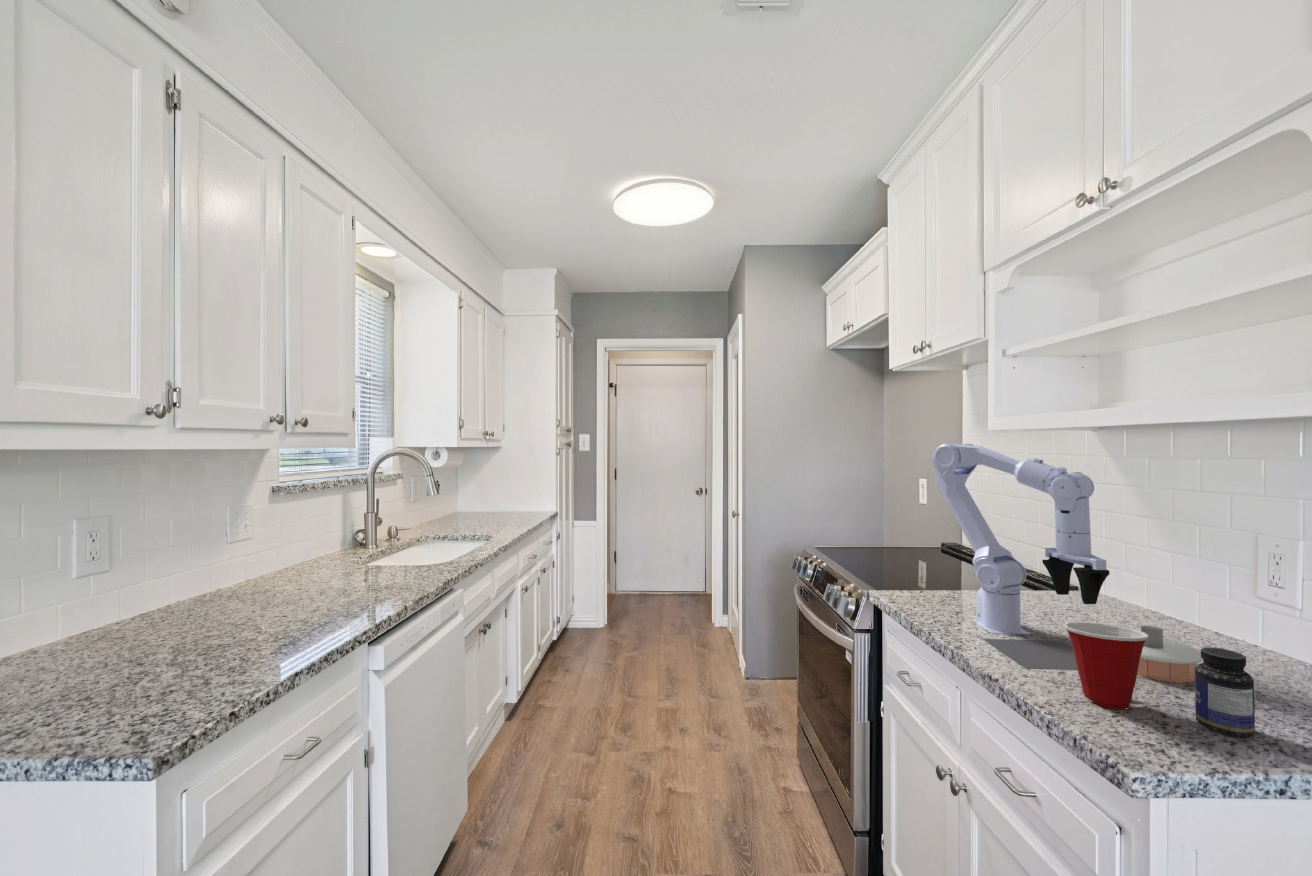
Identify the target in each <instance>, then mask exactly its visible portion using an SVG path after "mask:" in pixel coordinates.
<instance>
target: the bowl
mask: <svg viewBox="0 0 1312 876" xmlns="http://www.w3.org/2000/svg"><path fill="white" fill-rule="evenodd" d="M1197 665H1198V663H1193V664H1176V663H1166V662H1159V661H1153V660H1148V659H1143V658H1140V662H1139V667H1138V672H1137V676H1140V677H1143V678H1147V679H1151V680H1155V681H1161V682H1169V683H1191V682H1195V667H1196V666H1197Z"/></svg>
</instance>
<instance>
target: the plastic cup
mask: <svg viewBox="0 0 1312 876" xmlns="http://www.w3.org/2000/svg"><path fill="white" fill-rule="evenodd" d="M1063 627H1064V629H1065V630H1066V631H1067V633H1068V636H1069V639H1070V643H1071V646H1073V650H1074V655H1075V660H1076V664H1077V669H1078V670H1077V672H1078V676H1079V679H1080V683H1081V689H1082V693H1083V695H1084V696H1085V698H1086V699H1088V700H1090V703H1091V704H1093V703H1094V705H1096V706H1098V707H1102V706H1103V708H1107V709H1110V710H1111V709H1112V710H1121V709H1124V710H1127V709H1126V708H1128V709H1129V708H1130V705H1131V703H1132V701H1133V700H1132V699H1133V694H1134V689H1135V688H1136V683H1137V677H1138V675H1137V672H1138V667H1139V662H1140V656H1141V654H1142V649H1143V647H1144V643H1145V641H1146V639H1147V638H1148V636H1149V635H1147V634H1146V633H1144V632H1141V630H1138V629H1135V628H1131V627H1125V626H1121V625H1120V626H1119V625H1114V624H1108V623H1101V622H1099V623H1098V622H1089V621H1088V622H1087V621H1085V622H1084V621H1073V622H1072V621H1071V622H1066V623H1063Z"/></svg>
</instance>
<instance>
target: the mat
mask: <svg viewBox="0 0 1312 876" xmlns="http://www.w3.org/2000/svg"><path fill="white" fill-rule="evenodd" d="M982 640H983V641H985V643H988V644H989V645H991V646H992V647H994V648H995V649H996V650H997V651H999V652H1000V653H1002V654H1003V655H1005V656H1006V657H1007V658H1009V659H1010V660H1012V661H1013V662H1015V663H1016V664H1017V665H1019V666H1021V667H1022V668H1024V669H1028V670H1029V669H1032V670H1034V669H1035V670H1064V671H1065V670H1069V671H1070V670H1072V671H1073V670H1074V671H1078V669H1077V664H1076V660H1075V655H1074V650H1073V646H1072V644H1069V643H1067V642H1065V641H1064V640H1058V639H1057V640H1054V639H1053V640H1051V639H1050V640H1046V639H1009V638H1008V639H1007V638H1004V639H1003V638H982Z"/></svg>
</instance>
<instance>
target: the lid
mask: <svg viewBox="0 0 1312 876" xmlns="http://www.w3.org/2000/svg"><path fill="white" fill-rule="evenodd" d="M1140 631H1141V632H1144V633H1146V634H1147V635H1149V636H1148V638H1147V639H1146V641H1145V643H1144V647H1143V649H1142V654H1141V656H1140V658H1143V659H1148V660H1153V661H1159V662H1166V663H1176V664H1193V663H1197V664H1199V663H1201V662H1202V661H1203V659H1202V658H1201V651H1200V650H1198V649H1196V648H1194V647H1192V646H1190V645H1187V644H1184V643H1181V642H1178V641H1174V640H1170V639H1166V638H1164V629H1162V628H1161V627H1157V626H1151V625H1141V626H1140Z"/></svg>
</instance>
